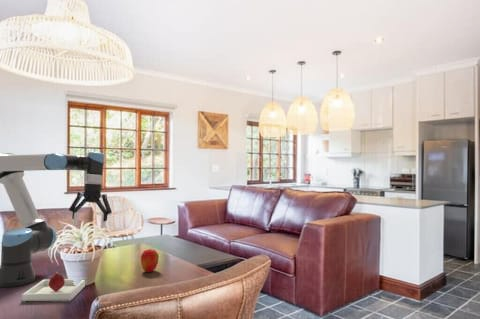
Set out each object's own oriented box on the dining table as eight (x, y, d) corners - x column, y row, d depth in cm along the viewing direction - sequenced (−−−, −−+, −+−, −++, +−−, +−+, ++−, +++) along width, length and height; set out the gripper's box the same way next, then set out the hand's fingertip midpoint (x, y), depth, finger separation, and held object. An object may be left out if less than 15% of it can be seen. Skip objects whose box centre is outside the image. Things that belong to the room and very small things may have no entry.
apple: (153, 274, 166) (154, 250, 167) (136, 273, 168) (137, 249, 168) (161, 269, 175) (161, 246, 176) (145, 268, 177) (146, 245, 178)
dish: (21, 302, 129) (21, 294, 129) (43, 286, 147) (43, 279, 147) (70, 301, 131) (70, 293, 131) (85, 285, 149) (86, 278, 149)
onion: (66, 289, 142) (67, 270, 142) (59, 293, 136) (60, 274, 136) (53, 288, 142) (53, 269, 142) (45, 293, 136) (46, 274, 136)
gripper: (121, 185, 166) (117, 227, 165) (72, 181, 167) (67, 224, 165) (115, 185, 159) (110, 229, 157) (64, 181, 160) (59, 225, 158)
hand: (88, 227), depth 161 cm, fingers open, 13 cm apart
